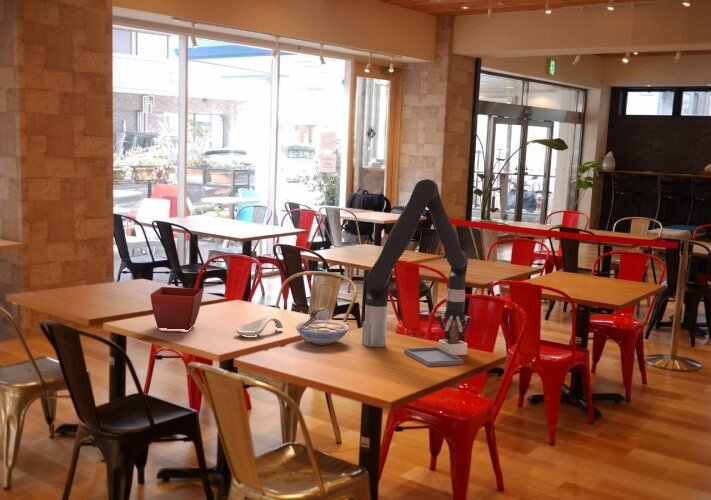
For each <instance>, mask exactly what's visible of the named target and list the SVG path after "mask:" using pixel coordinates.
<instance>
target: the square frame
mask: <svg viewBox="0 0 711 500" xmlns="http://www.w3.org/2000/svg"><path fill="white" fill-rule="evenodd" d="M438 347H439V348H441V349H443V350H445V351H447V352H449V353H451V354H453V355H455V356H462V355H463V356H464V355H468V343H467V342H464V341H462V340H460V341H458V344H448V340H446V339H438Z"/></svg>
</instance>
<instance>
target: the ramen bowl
mask: <svg viewBox="0 0 711 500" xmlns="http://www.w3.org/2000/svg"><path fill="white" fill-rule="evenodd" d="M312 318H313V317H311V318H310V317H309V318H308V319H307V320H304V321H303V320H302V321H299V322H297V323H295V329H296V330H297V332H298V334H299V335H300V336H301V338H303V339H305V340H306V341H308V342H311V343H313V344H314V345H318V346H325V345H327V346H328V345H330V344H331V343H335V342H337V341H339V340H341V339H343V338H344V336H345V335H346V334H347V333H348V330H349V328H350V326H349V325H348V324H346V323H344V322H339V321H333V320H329V321H323V320H315V319H317V317H315V318H314V319H312ZM311 319H312V320H311ZM310 320H311V321H310Z"/></svg>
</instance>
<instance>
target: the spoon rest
mask: <svg viewBox="0 0 711 500" xmlns="http://www.w3.org/2000/svg"><path fill="white" fill-rule="evenodd" d="M270 321H271V322H272V321H273V323H274V324H275V325H274V326H275V327H277V328H283V329H284V326H283V324H282V322H281V320H280V319H278V318H276V317H271V316H266V317H262V318H260V319H258V320H254V321H251V322H250V323H246V324H242V325H239V326H237V327H236V328H235V329H234V330H235V332H236V333H237V334H238V335H239V334H240V335H246V336H255V335H258V336H260V335H261V334H262V332H263V331H264V329H265V328H266V327H267V324H268V323H269V322H270ZM241 331H255V332H241ZM259 334H260V335H259ZM240 335H239V336H240Z"/></svg>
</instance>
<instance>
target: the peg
mask: <svg viewBox="0 0 711 500" xmlns="http://www.w3.org/2000/svg"><path fill="white" fill-rule="evenodd" d="M448 331H449V332H448V344H458V338H459V327H458V323H457V320H452V321H451V324H450V326H449V329H448Z"/></svg>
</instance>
